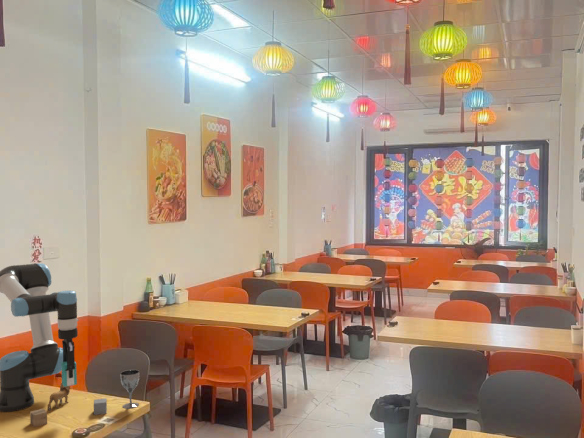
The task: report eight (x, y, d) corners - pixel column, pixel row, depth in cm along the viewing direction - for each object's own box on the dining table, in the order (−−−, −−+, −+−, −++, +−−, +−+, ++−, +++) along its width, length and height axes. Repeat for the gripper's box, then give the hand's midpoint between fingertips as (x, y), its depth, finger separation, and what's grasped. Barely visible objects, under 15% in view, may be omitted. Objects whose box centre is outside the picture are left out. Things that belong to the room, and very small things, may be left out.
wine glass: (128, 401, 245) (127, 368, 244) (143, 403, 242) (142, 370, 242) (117, 408, 237) (116, 374, 237) (133, 409, 235) (132, 375, 234)
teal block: (61, 383, 228) (61, 362, 227) (74, 381, 230) (73, 360, 230) (64, 386, 223) (63, 365, 223) (76, 384, 226) (76, 363, 226)
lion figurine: (61, 399, 249) (61, 380, 249) (73, 399, 248) (72, 380, 248) (44, 411, 234) (43, 391, 234) (56, 412, 234) (55, 391, 234)
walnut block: (30, 423, 222) (30, 411, 222) (43, 420, 225) (42, 408, 225) (34, 427, 218) (33, 415, 218) (47, 423, 222) (46, 411, 221)
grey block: (94, 411, 235) (94, 399, 234) (106, 409, 236) (106, 398, 236) (93, 415, 230) (93, 403, 230) (106, 413, 231) (106, 402, 231)
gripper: (81, 331, 221) (83, 387, 221) (73, 323, 236) (74, 375, 237) (61, 333, 217) (63, 391, 217) (54, 325, 232) (56, 379, 233)
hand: (69, 383), depth 227 cm, fingers closed on teal block, 5 cm apart
